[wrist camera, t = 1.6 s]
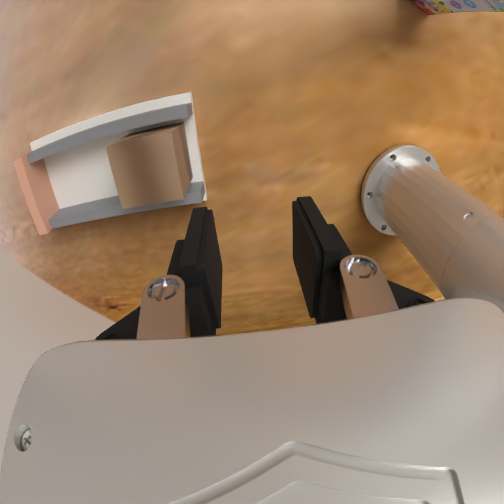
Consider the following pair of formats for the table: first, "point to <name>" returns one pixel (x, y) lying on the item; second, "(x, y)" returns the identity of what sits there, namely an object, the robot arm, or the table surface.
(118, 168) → the walnut block
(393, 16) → the table surface
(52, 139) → the chute
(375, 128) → the table surface
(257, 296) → the table surface
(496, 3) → the snack box
